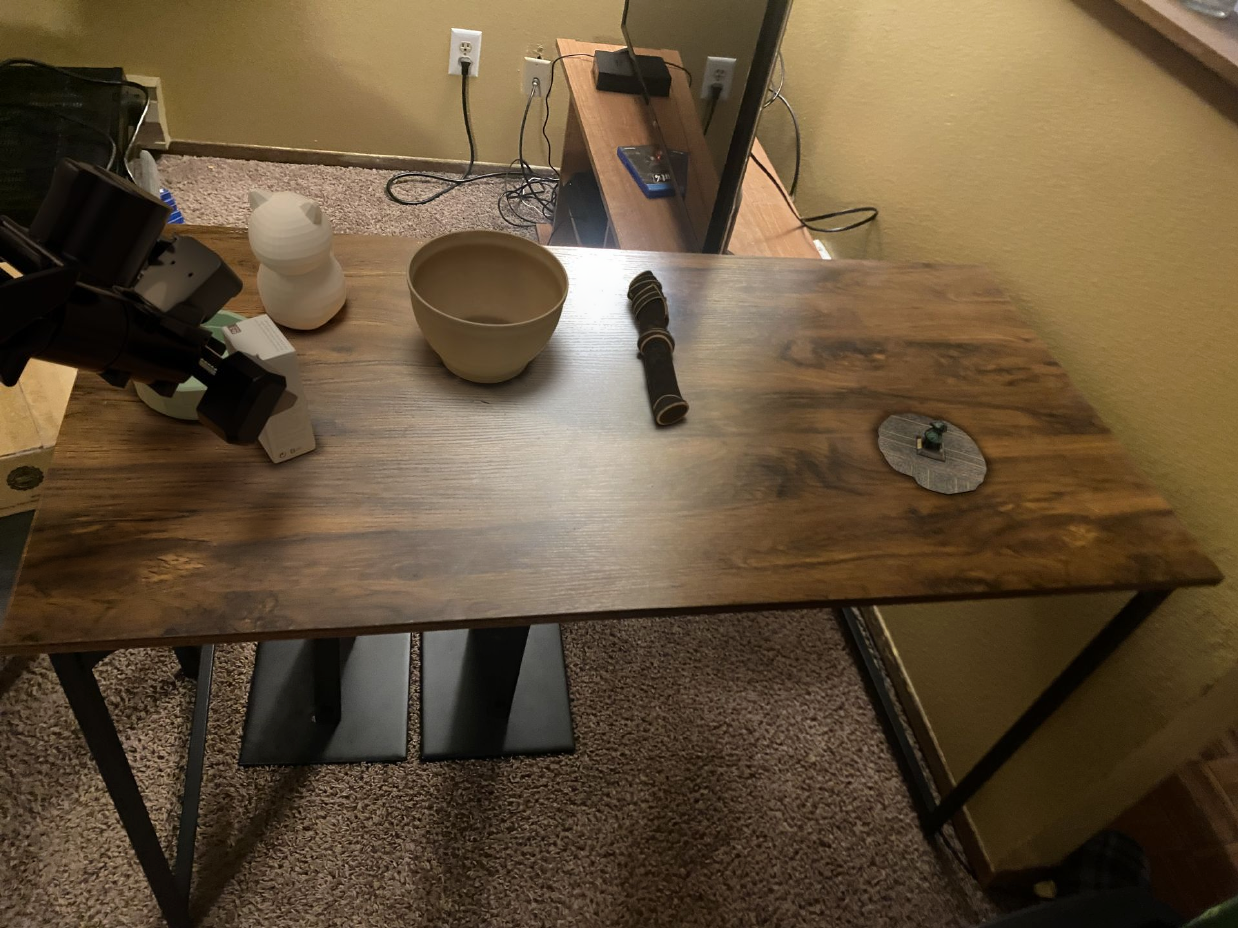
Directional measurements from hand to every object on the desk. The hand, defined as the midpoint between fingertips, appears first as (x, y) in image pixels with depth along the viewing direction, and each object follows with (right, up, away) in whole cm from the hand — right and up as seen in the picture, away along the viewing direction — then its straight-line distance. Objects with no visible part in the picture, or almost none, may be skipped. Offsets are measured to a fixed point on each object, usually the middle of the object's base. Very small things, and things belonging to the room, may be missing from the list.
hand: (258, 375), depth 73 cm
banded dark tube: (+35, +5, +24) cm, 43 cm away
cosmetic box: (-1, -5, +7) cm, 9 cm away
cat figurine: (-3, +10, +20) cm, 23 cm away
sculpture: (+66, -7, +19) cm, 69 cm away
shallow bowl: (-10, +1, +10) cm, 14 cm away
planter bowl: (+17, +4, +19) cm, 26 cm away
